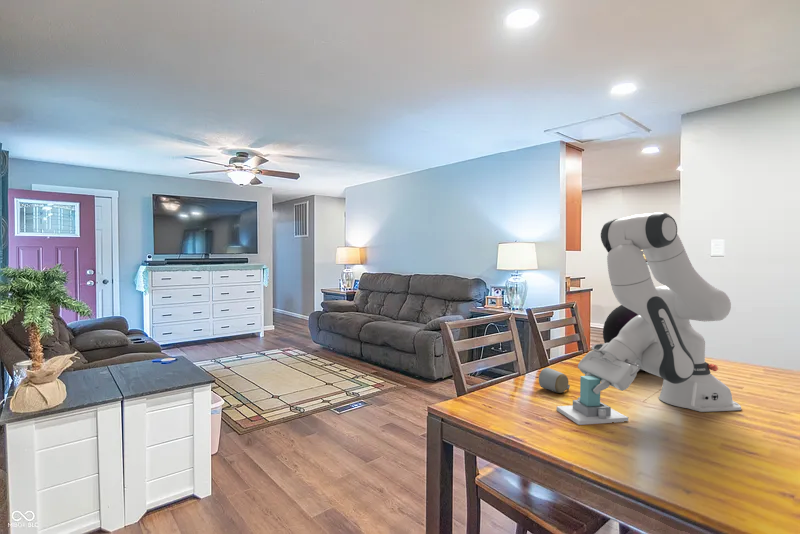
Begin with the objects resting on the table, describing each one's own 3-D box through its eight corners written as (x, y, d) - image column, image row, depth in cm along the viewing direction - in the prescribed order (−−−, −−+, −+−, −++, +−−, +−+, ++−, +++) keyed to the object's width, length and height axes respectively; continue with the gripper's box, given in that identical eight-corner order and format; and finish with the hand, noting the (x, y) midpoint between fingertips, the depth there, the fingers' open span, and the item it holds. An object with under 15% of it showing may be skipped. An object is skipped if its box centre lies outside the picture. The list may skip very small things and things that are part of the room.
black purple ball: (699, 379, 167) (700, 304, 166) (624, 378, 167) (624, 304, 167) (654, 361, 197) (655, 298, 196) (590, 361, 197) (591, 297, 197)
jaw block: (591, 401, 129) (592, 375, 129) (600, 405, 125) (600, 379, 125) (580, 401, 129) (580, 376, 129) (587, 406, 125) (588, 379, 125)
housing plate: (601, 407, 135) (601, 395, 135) (628, 421, 122) (629, 409, 122) (556, 409, 132) (556, 398, 132) (579, 425, 120) (579, 412, 120)
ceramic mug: (556, 395, 146) (556, 373, 146) (537, 389, 153) (538, 368, 153) (575, 391, 152) (576, 370, 152) (556, 385, 159) (557, 365, 159)
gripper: (649, 372, 118) (617, 408, 117) (603, 356, 139) (575, 386, 137) (635, 357, 118) (603, 393, 116) (591, 343, 138) (563, 373, 136)
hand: (588, 389), depth 127 cm, fingers closed on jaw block, 4 cm apart
